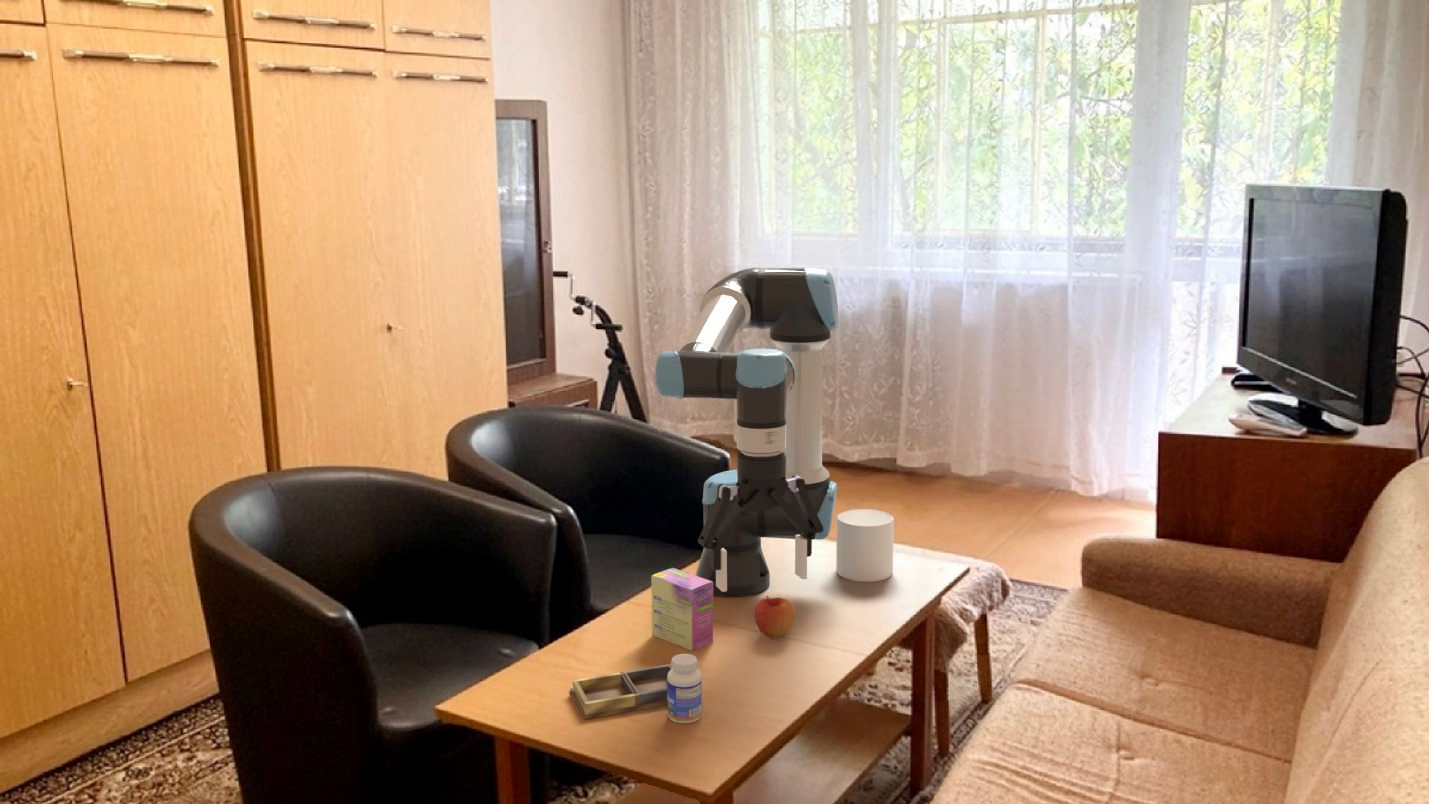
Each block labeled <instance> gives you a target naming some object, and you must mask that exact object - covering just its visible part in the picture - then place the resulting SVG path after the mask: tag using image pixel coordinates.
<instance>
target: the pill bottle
mask: <svg viewBox="0 0 1429 804" xmlns="http://www.w3.org/2000/svg"><path fill="white" fill-rule="evenodd" d="M671 667H672V669H671V670H670V671H669V672H668V675H667V702H668V705H667V716H668V717H667V718H668V719H670V720H671V721H672V722H674V723H676V724H677V723H678V724H691V723H695V722H697V721H698V720H700V718H701V717H702V714H703V713H702V712H703V710H702V708H703V706H702V703H703V702H702V698H703V697H702V695H703V694H702V686H703V685H702V679H703V678H702V675H703V674H702V672H701V671H700V670H699V669H698V658H697V657H696V656H695V655H694V654H690V653H680V654H675V655H674V656H673V657H672V658H671Z"/></svg>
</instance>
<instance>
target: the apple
mask: <svg viewBox="0 0 1429 804" xmlns="http://www.w3.org/2000/svg"><path fill="white" fill-rule="evenodd" d="M795 618H796V610H795V607H794V604H793V603H792V602H791V601H789V600H787V599H786V598H783V597H771V598H769V596H768V595H767V596H766V598H765V599H761V600H760V601H758V602H757V604H756V605H755V608H754V620H755V621H754V622H755V624H756V626H757V628H758V630H759V631H760V632H761V633H762V634H763V635H764V636H766V637H767V638H768V639H771V640H772V639H776V638H778V637H785V636H786V635H787V634H789V632H790V631H791V629H792V627H793V626H794V623H795Z"/></svg>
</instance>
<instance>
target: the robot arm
mask: <svg viewBox="0 0 1429 804" xmlns="http://www.w3.org/2000/svg"><path fill="white" fill-rule="evenodd" d="M699 312H700V315H699V316H698V318H697V320H696V321H695V324H693V327H692V329H691V330H690V332H689V334H688V336H687V338H686V339H685V341H684V343H683V344H682V346H681V348H680V350H677V349H673V350H669V351H667V350H665V351H662V352H660V353H659V355H658V356H657V359H656V363H655V374H654V375H655V385H656V386H655V387H656V390H657V392H658V394H659V395H660V396H662V397H666V398H667V397H668V398H678V399H680V400H682V399H719V400H722V399H723V400H736V409H737V410H736V413H737V414H736V415H737V416H736V417H737V419H736V449H737V450H738V452H737V454H736V469H732V470H731V469H730V470H726V471H725V470H724V471H722V472H718V473H716V474H715V473H714V475H711V476H709V477H708V479H707V480H705V482H704V484H703V492H702V494H703V495H702V497H703V498H702V500H701V503H702V507H703V509H702V510H703V512H702V513H703V515H702V516H703V527H702V530H701V532H700V534H699V537H698V539H697V542H698V544H699V545H700V546H701V547H703V548H702V549H703V550H702V553H701V555H700V559H699V562H698V565H697V568H696V571H695V576H698V577H701V578H704V579H707V580H710V581H713V596H717V597H718V596H719V597H734V598H735V597H745V596H752V595H756V594H758V593H760V592H763V591H765V590H766V589H767V588H768V587H769V586H770V584H771V583H770V582H771V581H770V580H771V577H770V574H771V573H770V570H769V569H770V568H769V566H768V563H767V560H766V558H765V555H764V552H763V549H762V538H766V539H770V538H771V539H789V540H794V543H795V545H794V547H795V548H794V549H795V550H794V558H795V559H794V560H795V561H794V563H795V564H794V574H795V575H796V576H798V578H800V579H801V580H807V579H808V557H812V555H813V554H812V550H813V549H812V547H813V540H819V541H820V540H824V539H826V538H827V537H828V536H829V534H830V531H831V528H832V522H833V518H834V517H833V516H834V511H835V503H836V497H837V490H838V484H837V482H835V481H832V480H831V481H830V472H829V470H828V469H827V468H826V467H825V466H824V465H823V348H824V346H826V344H827V343H828V342H829V341H830V340H831V332H834V331H836V330H837V329H838V328H839V306H838V299H837V291H836V285H835V281H834V278H833V275H832V274H831V272H829V270H827V269H824V268H823V269H822V268H814V267H813V268H812V267H773V268H772V267H767V268H765V267H752V268H746V269H745V268H744V269H741V270H739V271H736V272H734V273H731V274H729V275H728V276H725V277H724V278H722V279H720V280H718V281H717V282H716V283H715V284H713V285H712V286H711V287H710V288H708V290H707V292H706V293H705V295H704V296H703V298H702V300H701V302H700V306H699ZM744 329H758V330H763V329H764V330H769V340H770V341H771V342H772V343H773V344H774V345H775V346H776V349H774V348H762V347H761V348H749V349H747V350H746V349H745V350H742V351H740V352H729V351H730V350H731V347H732V345H733V344H734V341H735V340H736V337H737V335H738V334H739V333H741V332H742V331H743V330H744Z"/></svg>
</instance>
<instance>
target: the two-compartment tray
mask: <svg viewBox="0 0 1429 804" xmlns="http://www.w3.org/2000/svg"><path fill="white" fill-rule="evenodd" d="M671 665H672V663H668V664H663V665H655V666H649V667H643V668H639V669H632V670H625V671H619V672H614V673H609V674H602V675H596V676H589V677H583V678H578V679H573V680H572V688H570V689H569V691H570V693H571V696H572V697H573V699H574V701H575V703H576V706H577V707H578V709H579V711H580V713H581V715H582V718H584V720H591V719H597V718H601V717H607V716H613V715H618V714H619V715H620V714H624V713H630V712H635V711H642V710H646V709H652V708H657V707H663V706H668V702H667V675H668V672H669V671H670V670H671V669H672V667H671Z"/></svg>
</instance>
